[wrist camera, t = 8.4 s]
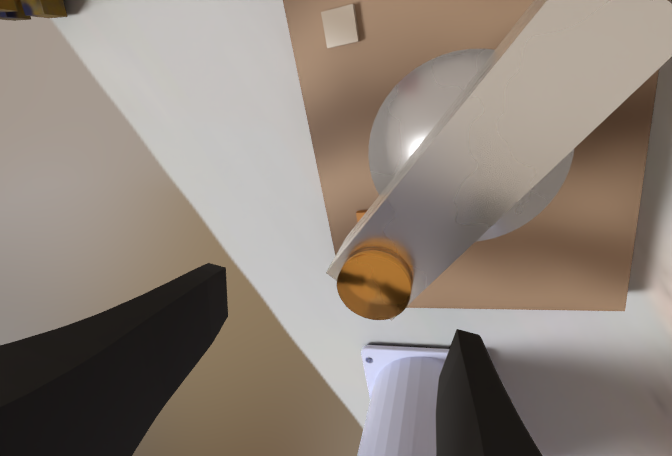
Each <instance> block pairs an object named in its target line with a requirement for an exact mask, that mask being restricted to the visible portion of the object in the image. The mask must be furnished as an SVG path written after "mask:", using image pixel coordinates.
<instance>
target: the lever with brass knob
mask: <svg viewBox="0 0 672 456" xmlns="http://www.w3.org/2000/svg"><path fill="white" fill-rule="evenodd" d="M671 57H672V3H670V2H669V1H668V0H534V1H533V3H532V4H531V5H530V6H529V8H528V9H527V10H526V11H525V13H524V14H523V15H522V16H521V18H520V19H519V20H518V21H517V23H516V24H515V25H514V27H513V28H512V29H511V30H510V32H509V33H508V34H507V35H506V37H505V38H504V39H503V40H502V42H501V43H500V44H499V45H498V47H497V48H496V49H495V50H493V49H465V50H458V51H453V52H450V53H446V54H443V55H441V56H438V57H436V58H434V59H432V60H429V61H427V62H426V63H424V64H422V65H421V66H419V67H417V68H415V69H414V70H413V71H412V72H410V73H409V74H408V75H406V76H405V77H404V78H403V79H402V80H401V81H400V82H399V83H398V84H397V85H396V86H395V87H394V88H393V89H392V91H391V92H390V93H389V95H388V96H387V97H386V99H385V100H384V102H383V104H382V105H381V107H380V109H379V111H378V113H377V115H376V118H375V120H374V123H373V126H372V130H371V133H370V140H369V153H368V157H369V167H370V172H371V176H372V180H373V182H374V185H375V188H376V190H377V192H378V194H379V196H378V198H377V199H376V200H375V202H374V203H373V204H372V205H371V207H370V208H369V209H368V210H367V212H366V213H365V214H364V215H363V217H362V218H361V219H360V220H359V222H358V223H357V224H356V225H355V227H354V228H353V229H352V230H351V232H350V233H349V234H348V236H347V237H346V239H345V240H344V242H343V244H342V246H341V247H340V249H339V251H338V253H337V254H336V256H335V258H334V260H333V261H332V263H331V265H330V267H329V268H328V270H327V272H326V273H327V274H328V275H330V276H331V277H333V278H334V279H335V280H337V290H338V293H339V296H340V298H341V300H342V301H343V302H344V304H345V305H346V306H347V307H348V308H349V309H350V310H351V311H353V312H354V313H356V314H358V315H360V316H362V317H365V318H368V319H373V320H385V319H390V320H393V319H394V318H395V317H396V316H397V315H399V314H400V313H401V312H403V311H404V309H405V308H406V307H407V306H408V305H409V304H410V303H411V302H412V301H413V300H414V299H415V298H416V297H417V296H418V295H419V294H420V293H421V292H423V291H424V290H425V289H426V288H427V287H428V286H429V285H430V284H431V283H432V282H433V281H434V280H435V279H436V278H437V277H438V276H439V275H441V274H442V273H443V272H444V271H445V270H446V269H447V268H448V267H449V266H450V265H451V264H452V263H453V262H454V261H455V260H456V259H458V258H459V257H460V256H461V255H462V254H463V253H464V252H465V251H466V250H467V249H468V248H469V247H470V246H471V245H472V244H473V243H474V242H476V241H483V240H488V239H492V238H496V237H499V236H502V235H505V234H507V233H509V232H511V231H514V230H516V229H518V228H519V227H521V226H523V225H524V224H526V223H528V222H529V221H530V220H532V219H533V218H534V217H536V216H537V215H538V214H539V213H540V212H541V211H542V210H543V209H544V208H545V207H546V206H547V205H548V204H549V203H550V202H551V201H552V200H553V198H554V197H555V196H556V194H557V193H558V191H559V190H560V188H561V186H562V185H563V183H564V181H565V179H566V177H567V174H568V172H569V170H570V166H571V163H572V159H573V155H574V148H575V147H576V146H577V145H578V144H579V143H581V142H582V141H583V140H584V139H585V138H586V137H587V136H588V135H589V134H590V133H591V132H592V131H593V130H594V129H595V128H596V127H597V126H599V125H600V124H601V123H602V122H603V121H604V120H605V119H606V118H607V117H608V116H609V115H610V114H611V113H612V112H613V111H614V110H615V109H617V108H618V107H619V106H620V105H621V104H622V103H623V102H624V101H625V100H626V99H627V98H628V97H629V96H630V95H631V94H632V93H634V92H635V91H636V90H637V89H638V88H639V87H640V86H641V85H642V84H643V83H644V82H645V81H646V80H647V79H648V78H649V77H650V76H652V75H653V74H654V73H655V72H656V71H657V70H658V69H659V68H660V67H661V66H662V65H663V64H664V63H665V62H666V61H667V60H669V59H670V58H671Z"/></svg>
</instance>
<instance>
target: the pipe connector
mask: <svg viewBox="0 0 672 456" xmlns="http://www.w3.org/2000/svg"><path fill="white" fill-rule="evenodd" d="M30 16H35V17H44V18H57V17H67V13H66V9H65V6H64V2H63V0H0V19H3V20H28V19H31V17H30Z"/></svg>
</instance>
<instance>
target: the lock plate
mask: <svg viewBox="0 0 672 456" xmlns="http://www.w3.org/2000/svg"><path fill="white" fill-rule="evenodd" d="M533 1H534V0H283V3H284V8H285V13H286V18H287V23H288V28H289V32H290V37H291V42H292V47H293V52H294V57H295V61H296V66H297V71H298V76H299V81H300V86H301V90H302V95H303V100H304V105H305V110H306V115H307V120H308V124H309V129H310V134H311V139H312V144H313V149H314V153H315V158H316V163H317V168H318V173H319V178H320V182H321V187H322V192H323V197H324V202H325V207H326V212H327V216H328V221H329V226H330V231H331V236H332V241H333V245H334V250H335V255H336V254H337V253H338V251H339V249H340V247H341V246H342V244H343V242H344V240H345V239H346V237H347V236H348V234H349V233H350V232H351V230H352V229H353V228H354V227H355V225H356V224H357V223H358V222H359V220H360V219H361V218H362V217H363V215H364V214H365V213H366V212H367V210H368V209H369V208H370V207H371V205H372V204H373V203H374V202H375V200H376V199H377V198H378V196H379V194H378V192H377V190H376V188H375V185H374V182H373V180H372V176H371V172H370V167H369V157H368V153H369V140H370V133H371V130H372V126H373V123H374V120H375V118H376V115H377V113H378V111H379V109H380V107H381V105H382V104H383V102H384V100H385V99H386V97H387V96H388V95H389V93H390V92H391V91H392V89H393V88H394V87H395V86H396V85H397V84H398V83H399V82H400V81H401V80H402V79H403V78H404V77H405V76H406V75H408V74H409V73H410V72H412V71H413V70H414V69H415V68H417V67H419V66H421V65H422V64H424V63H426V62H427V61H429V60H432V59H434V58H436V57H438V56H441V55H443V54H446V53H450V52H453V51H458V50H465V49H493V50H495V49H496V48H497V47H498V45H499V44H500V43H501V42H502V40H503V39H504V38H505V37H506V35H507V34H508V33H509V32H510V30H511V29H512V28H513V27H514V25H515V24H516V23H517V21H518V20H519V19H520V18H521V16H522V15H523V14H524V13H525V11H526V10H527V9H528V8H529V6H530V5H531V4H532V3H533ZM668 1H669V0H668ZM658 72H659V69H658V70H657V71H656V72H655V73H654V74H653V75H652V76H650V77H649V78H648V79H647V80H646V81H645V82H644V83H643V84H642V85H641V86H640V87H639V88H638V89H637V90H636V91H635V92H634V93H632V94H631V95H630V96H629V97H628V98H627V99H626V100H625V101H624V102H623V103H622V104H621V105H620V106H619V107H618V108H617V109H615V110H614V111H613V112H612V113H611V114H610V115H609V116H608V117H607V118H606V119H605V120H604V121H603V122H602V123H601V124H600V125H599V126H597V127H596V128H595V129H594V130H593V131H592V132H591V133H590V134H589V135H588V136H587V137H586V138H585V139H584V140H583V141H582V142H581V143H579V144H578V145H577V146H576V147H575V148H574V155H573V159H572V163H571V166H570V170H569V172H568V174H567V177H566V179H565V181H564V183H563V185H562V186H561V188H560V190H559V191H558V193H557V194H556V196H555V197H554V198H553V200H552V201H551V202H550V203H549V204H548V205H547V206H546V207H545V208H544V209H543V210H542V211H541V212H540V213H539V214H538V215H537V216H536V217H534V218H533V219H532V220H530V221H529V222H528V223H526V224H524V225H523V226H521V227H519V228H518V229H516V230H514V231H511V232H509V233H507V234H505V235H502V236H499V237H496V238H492V239H488V240H483V241H476V242H474V243H473V244H472V245H471V246H470V247H469V248H468V249H467V250H466V251H465V252H464V253H463V254H462V255H461V256H460V257H459V258H458V259H456V260H455V261H454V262H453V263H452V264H451V265H450V266H449V267H448V268H447V269H446V270H445V271H444V272H443V273H442V274H441V275H439V276H438V277H437V278H436V279H435V280H434V281H433V282H432V283H431V284H430V285H429V286H428V287H427V288H426V289H425V290H424V291H423V292H421V293H420V294H419V295H418V296H417V297H416V298H415V299H414V300H413V301H412V302H411V303H410V304H409V305H408V306H407V307H406V308H464V309H526V310H588V311H625V306H626V299H627V292H628V285H629V278H630V271H631V264H632V257H633V250H634V243H635V236H636V228H637V221H638V214H639V207H640V200H641V193H642V186H643V179H644V172H645V165H646V158H647V150H648V143H649V136H650V129H651V122H652V115H653V108H654V101H655V94H656V87H657V79H658ZM346 307H347V306H346Z"/></svg>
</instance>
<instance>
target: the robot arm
mask: <svg viewBox="0 0 672 456" xmlns="http://www.w3.org/2000/svg"><path fill="white" fill-rule="evenodd" d="M227 317H228V307H227V287H226V268H225V267H221V266H218V265H213V264H210V263H208V264H205V265H203V266H201V267H198V268H197V269H194V270H192V271H190V272H188V273H186V274H184V275H182V276H180V277H178V278H176V279H174V280H172V281H170V282H168V283H166V284H164V285H162V286H160V287H158V288H155V289H153V290H151V291H149V292H148V293H145V294H143V295H141V296H138V297H136V298H134V299H132V300H129V301H127V302H125V303H123V304H120V305H118V306H116V307H113V308H111V309H109V310H107V311H104V312H102V313H99V314H97V315H94V316H92V317H89V318H86V319H84V320H81V321H78V322H75V323H72V324H70V325H67V326H64V327H61V328H58V329H55V330H51V331H48V332H45V333H42V334H38V335H35V336H32V337H28V338H25V339H22V340H19V341H15V342H12V343H8V344H4V345H0V456H132V455H133V453H134V451H135V450H136V448H137V447H138V445H139V443H140V442H141V440H142V439H143V437H144V436H145V434H146V432H147V431H148V429H149V427H150V426H151V424H152V423H153V421H154V420H155V418H156V417H157V415H158V414H159V413H160V411H161V410H162V408H163V407H164V406H165V404H166V403H167V401H168V400H169V399H170V398H171V396H172V395H173V394H174V392H175V391H176V390H177V389H178V387H179V386H180V385H181V383H182V382H183V381H184V379H185V378H186V377H187V375H188V374H189V373H190V372H191V370H192V369H193V368H194V367H195V365H196V364H197V363H198V361H199V360H200V359H201V357H202V356H203V355H204V353H205V352H206V351H207V349H208V348H209V347H210V345H211V344H212V343H213V341H214V339H215V338H216V336H217V334H218V333H219V331H220V329H221V327H222V325H223V324H224V322H225V320H226V319H227ZM361 355H362V360H363V365H364V370H365V375H366V380H367V385H368V391H369V396H370V404H369V408H368V412H367V416H366V421H365V425H364V429H363V433H362V438H361V442H360V446H359V451H358V455H357V456H542V455H541V453H540V451H539V450H538V448H537V446H536V445H535V443H534V441H533V440H532V438H531V436H530V434H529V433H528V431H527V429H526V428H525V426H524V424H523V422H522V420H521V419H520V417H519V415H518V413H517V411H516V409H515V408H514V406H513V404H512V402H511V400H510V398H509V396H508V394H507V392H506V390H505V388H504V386H503V384H502V382H501V380H500V378H499V376H498V374H497V372H496V370H495V368H494V366H493V363H492V361H491V359H490V357H489V355H488V352H487V350H486V348H485V345H484V343H483V341H482V339H481V337H480V336H479V335H477V334H473V333H470V332H466V331H462V330H458V329H457V330H456V333H455V336H454V338H453V341H452V344H451V346H450V349H439V348H419V347H399V346H379V345H365V346H363V348H362V350H361ZM368 357H370V358H372V359H369V358H368Z"/></svg>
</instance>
